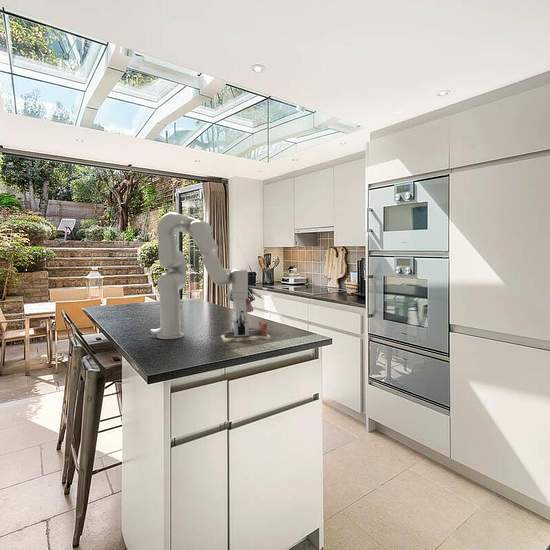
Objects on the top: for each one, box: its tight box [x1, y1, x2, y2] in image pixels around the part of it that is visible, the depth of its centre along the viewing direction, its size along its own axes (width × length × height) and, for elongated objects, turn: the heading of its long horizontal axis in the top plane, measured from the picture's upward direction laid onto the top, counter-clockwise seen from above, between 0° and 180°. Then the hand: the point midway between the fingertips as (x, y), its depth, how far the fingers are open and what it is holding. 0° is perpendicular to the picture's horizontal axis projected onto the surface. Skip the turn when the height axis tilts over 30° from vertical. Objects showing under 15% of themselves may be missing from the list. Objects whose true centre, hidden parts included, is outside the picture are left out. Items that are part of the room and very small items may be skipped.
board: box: [220, 320, 272, 343], centre depth 175 cm, size 22×10×7 cm, turn 107°
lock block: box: [231, 320, 250, 337], centre depth 174 cm, size 7×6×6 cm
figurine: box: [223, 272, 264, 322], centre depth 199 cm, size 22×10×30 cm, turn 84°
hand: (240, 333), depth 174 cm, fingers closed on lock block, 6 cm apart
